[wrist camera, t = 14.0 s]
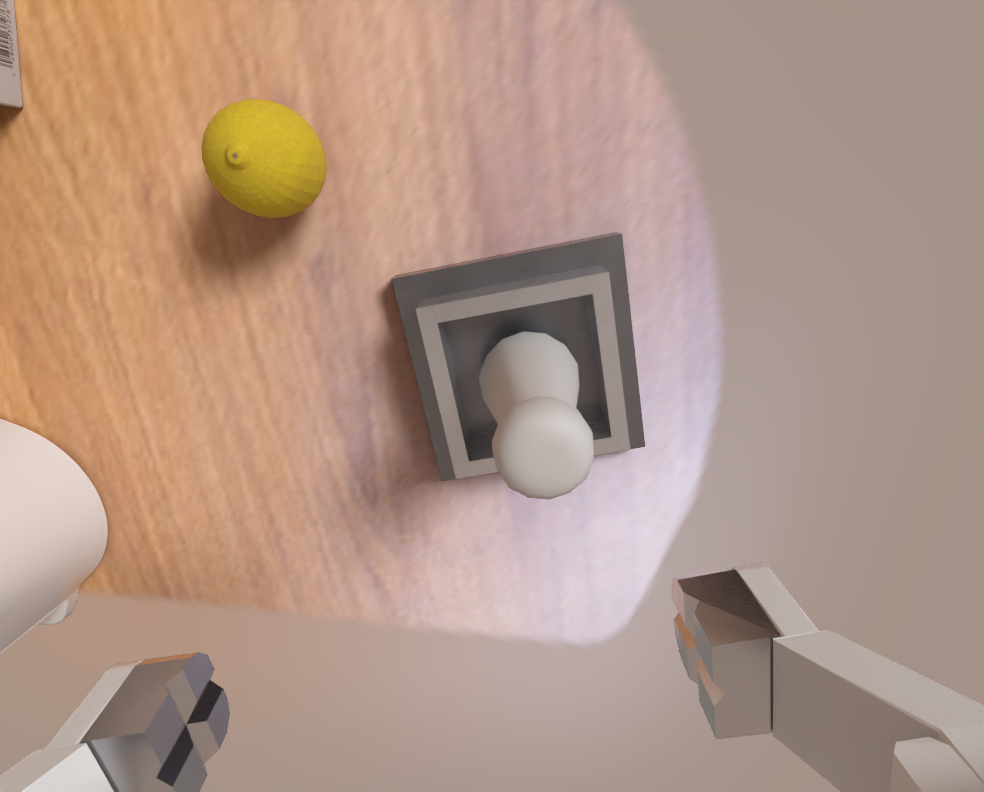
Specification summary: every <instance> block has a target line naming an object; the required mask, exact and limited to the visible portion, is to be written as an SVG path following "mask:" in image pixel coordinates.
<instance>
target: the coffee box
mask: <svg viewBox="0 0 984 792" xmlns="http://www.w3.org/2000/svg"><path fill="white" fill-rule="evenodd" d="M0 105H4V106H10V107H16V108H21V107H22V106H23V101H22V89H21V78H20V65H19V52H18V40H17V29H16V18H15V6H14V0H0Z"/></svg>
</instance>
